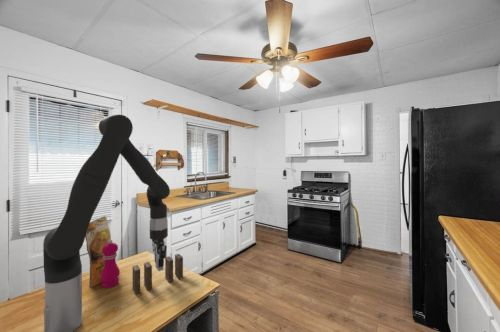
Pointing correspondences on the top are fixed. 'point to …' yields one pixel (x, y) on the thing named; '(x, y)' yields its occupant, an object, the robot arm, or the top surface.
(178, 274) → the domino
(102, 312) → the top surface
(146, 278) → the domino
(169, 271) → the domino
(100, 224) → the pancake mix bag
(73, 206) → the robot arm
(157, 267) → the domino
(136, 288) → the domino
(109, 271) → the pepper mill
